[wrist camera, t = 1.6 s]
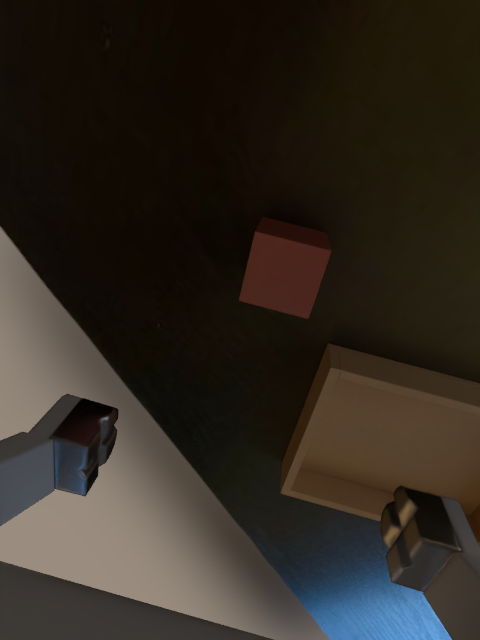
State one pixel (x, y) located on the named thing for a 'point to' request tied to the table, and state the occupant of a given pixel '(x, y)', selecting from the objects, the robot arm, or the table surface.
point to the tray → (384, 436)
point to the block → (285, 267)
